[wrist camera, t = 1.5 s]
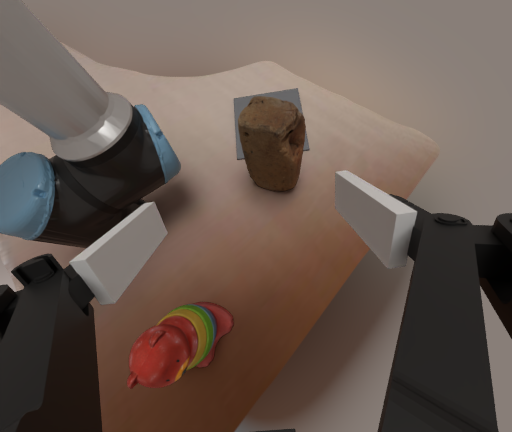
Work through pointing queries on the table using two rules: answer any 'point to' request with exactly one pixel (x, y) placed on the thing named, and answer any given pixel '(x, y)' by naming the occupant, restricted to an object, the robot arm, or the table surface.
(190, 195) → the table surface
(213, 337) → the stacking bear
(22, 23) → the robot arm
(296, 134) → the block
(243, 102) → the mat
